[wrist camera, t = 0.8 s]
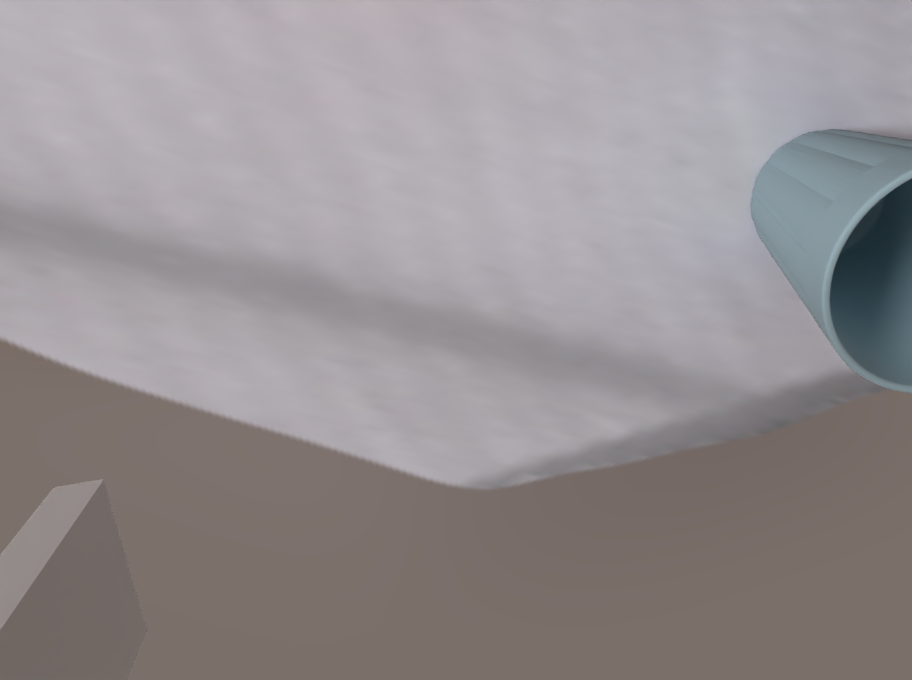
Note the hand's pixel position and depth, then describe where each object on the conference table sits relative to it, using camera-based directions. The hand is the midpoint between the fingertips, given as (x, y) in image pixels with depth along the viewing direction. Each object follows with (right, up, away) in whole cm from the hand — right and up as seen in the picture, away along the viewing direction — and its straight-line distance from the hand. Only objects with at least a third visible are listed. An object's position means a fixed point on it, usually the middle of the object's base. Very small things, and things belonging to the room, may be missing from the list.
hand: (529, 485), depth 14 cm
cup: (+14, +8, +22) cm, 27 cm away
